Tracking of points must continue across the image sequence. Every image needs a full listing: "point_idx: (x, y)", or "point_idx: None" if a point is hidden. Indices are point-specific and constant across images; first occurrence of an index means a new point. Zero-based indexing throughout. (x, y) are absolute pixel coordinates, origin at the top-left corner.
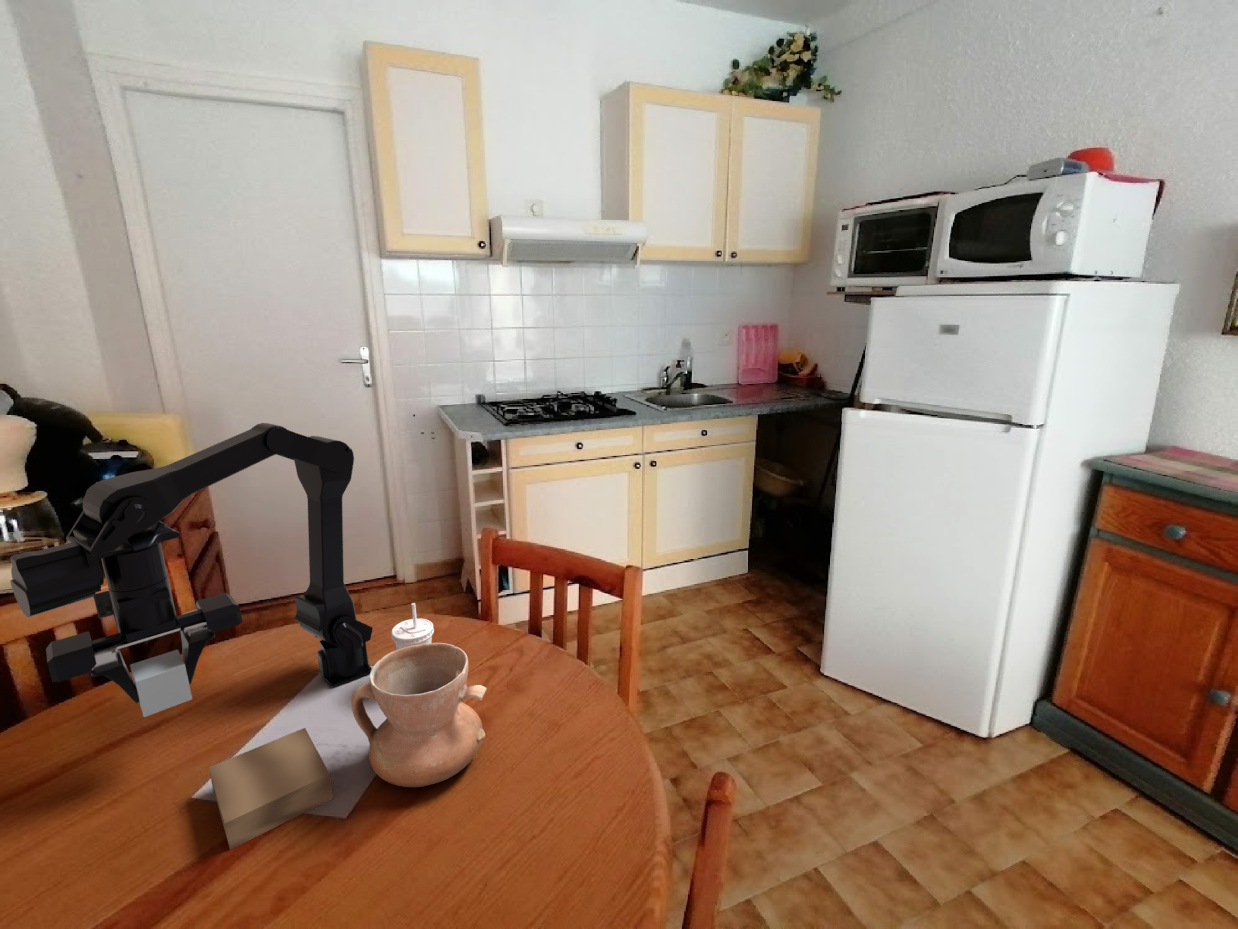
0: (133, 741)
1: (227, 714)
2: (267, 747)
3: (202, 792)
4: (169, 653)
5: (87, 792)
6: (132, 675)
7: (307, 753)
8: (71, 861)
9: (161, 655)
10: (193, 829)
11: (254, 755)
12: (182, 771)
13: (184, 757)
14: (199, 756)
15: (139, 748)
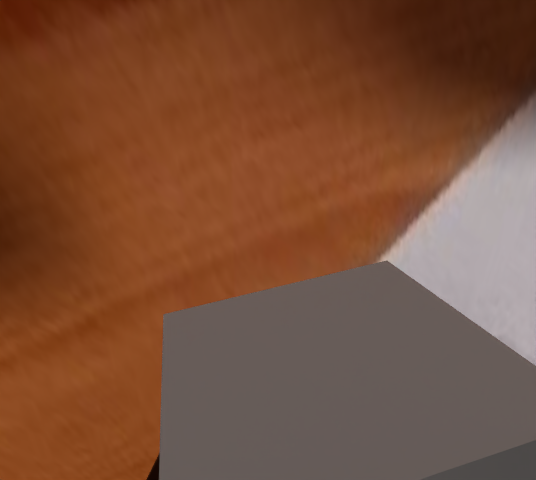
0: (87, 36)
1: (364, 68)
2: None
3: None
4: (532, 471)
5: (3, 253)
6: (161, 448)
7: None
8: (43, 474)
9: (465, 477)
10: None
11: None
12: (241, 289)
13: (245, 230)
14: (280, 247)
15: (115, 100)
